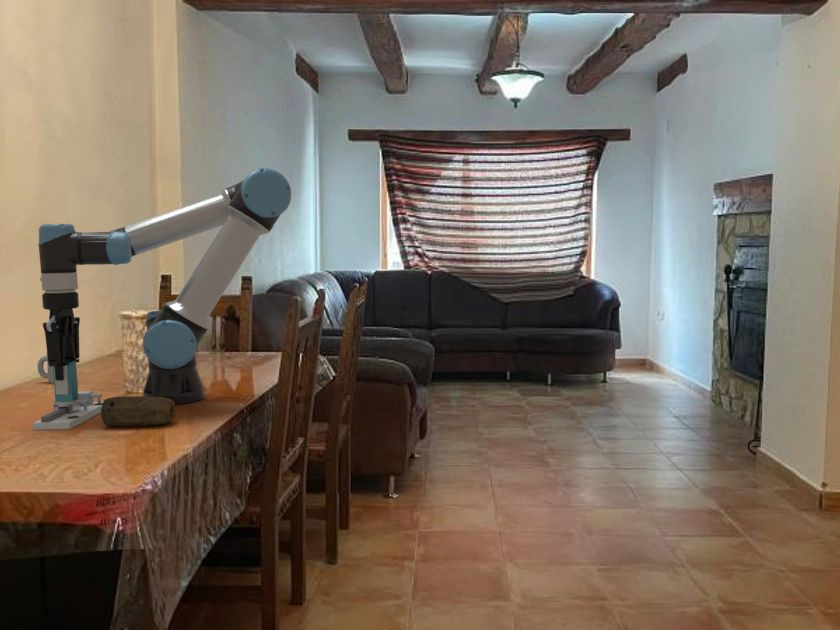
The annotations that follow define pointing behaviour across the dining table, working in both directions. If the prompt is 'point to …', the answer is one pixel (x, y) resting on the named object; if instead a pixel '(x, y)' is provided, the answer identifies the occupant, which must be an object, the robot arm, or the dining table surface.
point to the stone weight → (137, 411)
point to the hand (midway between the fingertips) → (66, 392)
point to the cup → (42, 373)
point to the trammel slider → (71, 398)
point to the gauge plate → (70, 414)
